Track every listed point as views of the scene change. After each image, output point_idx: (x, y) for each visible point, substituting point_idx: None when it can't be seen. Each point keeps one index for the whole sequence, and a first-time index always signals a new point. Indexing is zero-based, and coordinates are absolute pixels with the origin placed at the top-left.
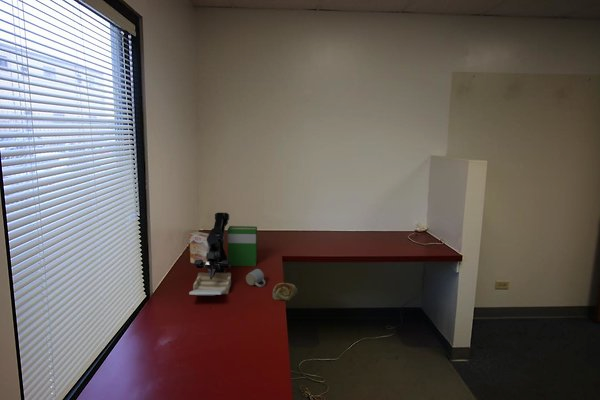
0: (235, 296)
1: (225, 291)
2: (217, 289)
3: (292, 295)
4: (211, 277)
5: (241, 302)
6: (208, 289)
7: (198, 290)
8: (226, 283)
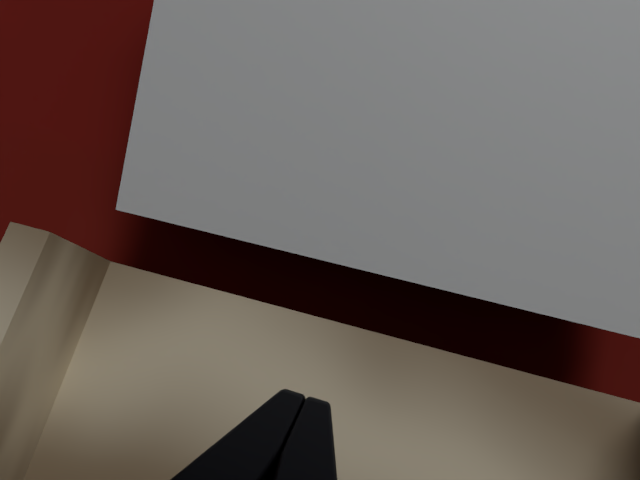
0: (38, 175)
1: (119, 265)
2: (227, 342)
3: None
4: (279, 413)
5: (28, 19)
6: (386, 387)
7: (606, 112)
8: (5, 313)
